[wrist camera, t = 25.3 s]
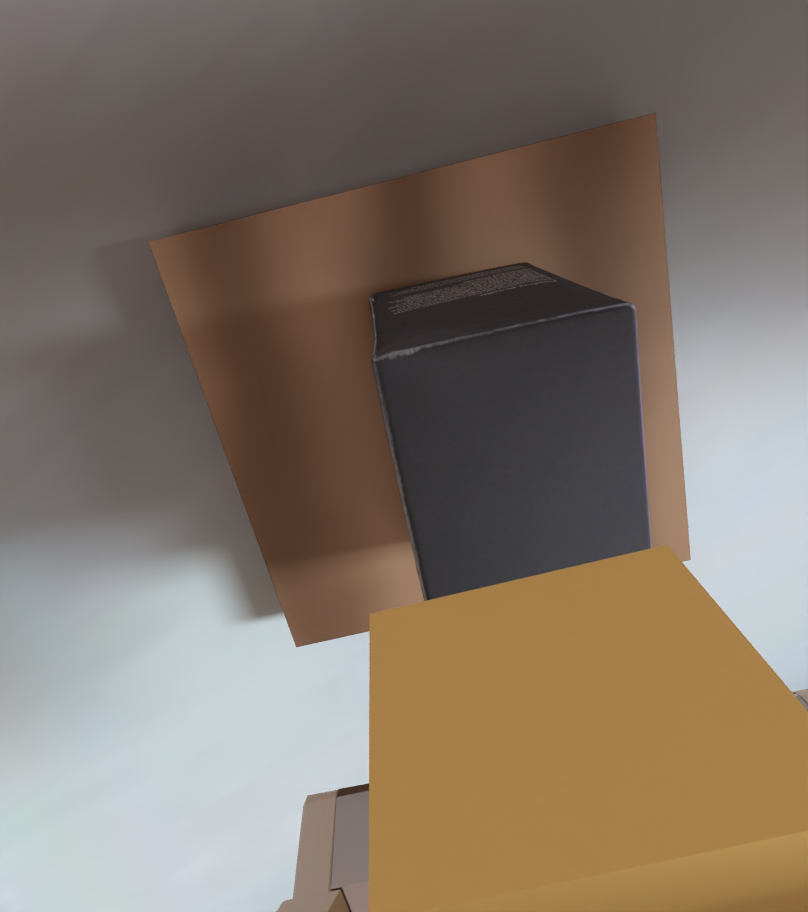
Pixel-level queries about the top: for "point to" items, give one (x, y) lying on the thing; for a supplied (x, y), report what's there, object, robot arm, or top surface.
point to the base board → (352, 341)
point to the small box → (511, 424)
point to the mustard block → (582, 751)
